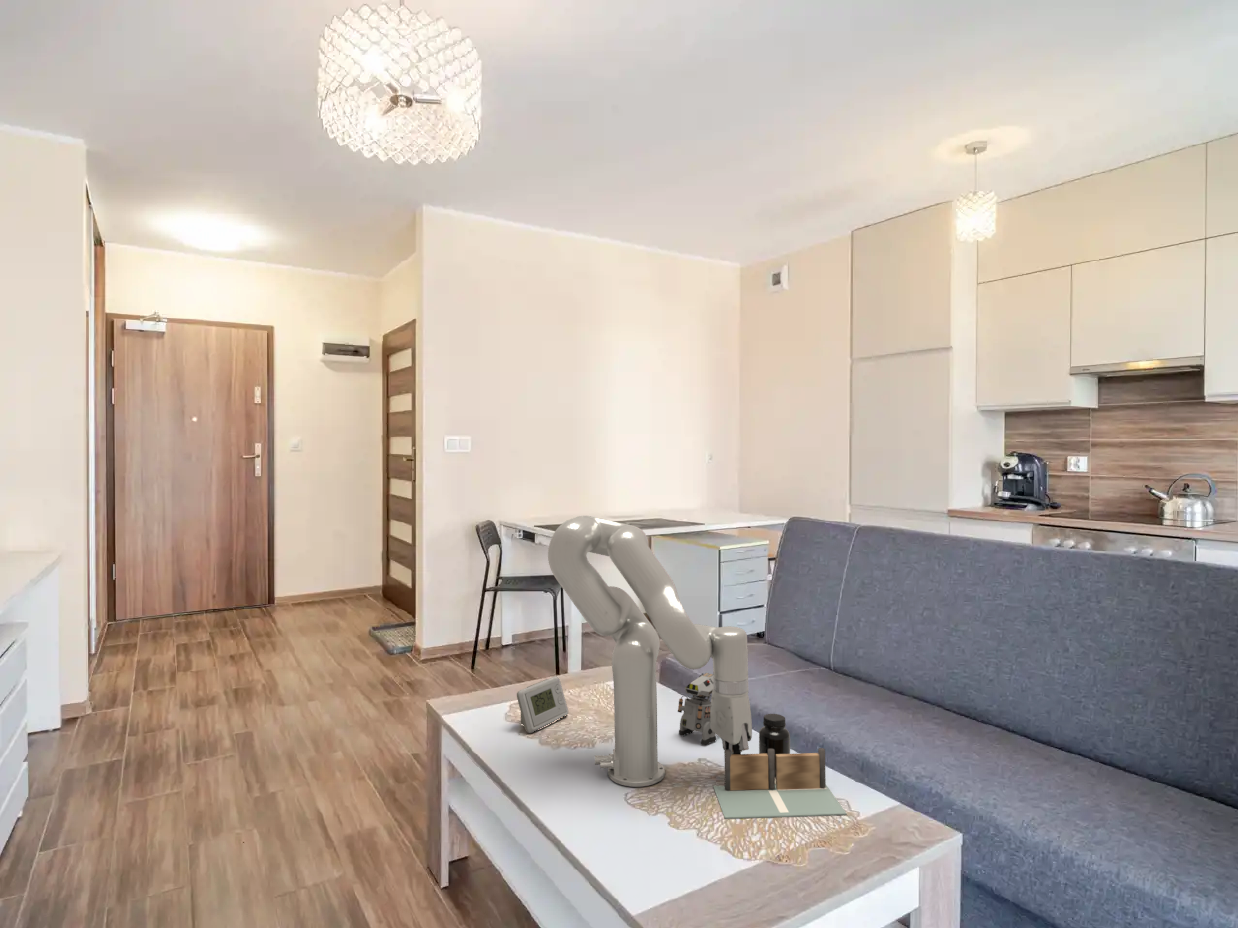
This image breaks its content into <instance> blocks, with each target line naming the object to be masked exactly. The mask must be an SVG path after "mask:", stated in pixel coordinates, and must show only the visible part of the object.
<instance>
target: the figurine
mask: <svg viewBox="0 0 1238 928" xmlns="http://www.w3.org/2000/svg"><path fill="white" fill-rule="evenodd" d="M713 688H714V686H713V673H709V672H705V673H704V672H702V673H701V674H700V675H699V676H698V677H697V678H696V679H694V680H693V681H692V682H690V683H688V685H686V686H685V687H684V691H685V694H688V695H690V696H691V695H692V697H691V698H688V696H686V695H685V697H686V698H684V700H683V697H684V695H682V696H681V697H680V698H679V699H678V708H677V713H683V714H682V716H681V718H680V721H679V729H678V735H679V736H681V737H685V736H687V735H691V734H693V733H694V732H699V733H701V739H700V744H701V745H704V746H707V745H710V743H711V744H714V743H715V742H716V741H717V735H716V734H715V733H714V732H713V731H712V730H711V726H710V713H711V697H712V691H713ZM683 704H684V705H683Z"/></svg>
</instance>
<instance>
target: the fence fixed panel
mask: <svg viewBox="0 0 1238 928" xmlns="http://www.w3.org/2000/svg"><path fill="white" fill-rule="evenodd" d="M817 750H818V751H817V752H812V753H811V752H809V753H807V752H805V753H804V752H803V753H790V754H776V777H775V784H776V788H777V790H785V789H818V788H822V789H824V788H826V785H827V784H826V783H827V782H826V749H825V748H823V747H819V748H817Z"/></svg>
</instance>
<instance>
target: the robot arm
mask: <svg viewBox="0 0 1238 928" xmlns="http://www.w3.org/2000/svg"><path fill="white" fill-rule="evenodd" d="M547 549H548V551H547V561H548V565H549V568H550V571H551V573H552V574H553V576H554V578H555V579H556V581H557V582H558V584H559V585H560V586H561V588H562V589H563V591H564V592H565V593H566V594H567V596H568V597H569V599H570V601H571V602H572V604H573V605H574V607H575V608H576V609H577V610H578V612H579V614H581V616H582V617H583V618H584V620H585V621H586V623H587V624H588V625H589V627H590V629H592V631H594V632H595V634H597V635H600V636H602V637H611V638H612V639H613V641H614V642H615V644H614V647H613V651H612V654H611V655H612V656H611V670H612V681H613V705H614V706H613V707H614V711H613V712H614V719H613V720H614V749H613V750H612V753H608V755H602V754H601V755H594V765H595V766H596V765H599V766H600V767H599V769H607V775H608V777H609V779H610V780H611V781H613V782H614V783H616V784H619V785H620V786H621V785H622V786H626V787H634V788H635V787H636V788H639V787H640V788H641V787H648V786H652V785H655V784H657V783H659V782H660V781H662V780H663V779H664V777H665V775H666V773H665V772H666V771H665V767H664V765H663V764H662V763H661V762H659V760H658V702H657V701H658V695H657V693H658V692H657V691H658V690H657V670H656V669H657V668H656V667H657V659H658V655H659V652H660V648H661V643H660V642H661V641H660V640H662V642H663V643H664V645H665V646H666V647H667V649H668V650H669V651H670V653H671V655H673V657H674V659H676V661H677V662H678V663H679V664H680V665H681V666H682V667H684V668H685V669H689V670H693V671H694V670H701V669H702V668H703V667H705V666H706V665H707V664H708V663H709V661H710V659H712V674H713V686H714V688H713V691H712V693H711V696H710V702H711V713H710V726H711V730H712V731H713V732H714V733H715V736H718V737H720V739H721V743H722V749H723V751H725V750H731V754H742V752H744V751H748V750H749V749H750V748H749V742H750V741H752V737H753V723H752V712H751V710H752V709H751V704H750V697H749V664H748V663H749V661H748V635H747V632H746V630H745V629H743V628H741V627H737V626H732V625H731V626H728V625H727V626H720V627H717V626H713V625H711V626H710V625H706V624H705V625H704V624H699V623H698V624H697V623H693V621H692V620H691V618H690V617H689V615H688V614H687V612H686V609H684V606H683V604H682V602H681V600H680V597H679V594H678V590H677V587H676V585H675V583H674V580H673V579H672V577H671V576H670V574H669V573H668V571H666V569H665V567H664V566H663V565H662V563H661V562H660V560H659V559H658V558H657V557H656V555H655V554H654V551H652V549H651V547H650V546H649V540H648V536H647V535H646V533H645V532H644V530H642V529H641V528H640V527H638V526H635V525H632V524H627V523H622V522H617V521H613V520H610V519H603V518H599V517H595V516H589V515H579V516H576V517H573V518H570V519H568V520H566V521H564V522H563V523H562V524H560V525H559V526H558V527H557V528H556V529H555V531H554V532H553V534H552V537H551V539H550V541H549V545H548V548H547ZM588 553H592V554H596V555H599V556H605V557H609V559H610V561H611V562H612V563H613V565H614V566H615V567H616V569H617V570H618V572H619V573H620V574H621V576H622V577H623V579H624V580H625V581H626V583H627V584H628V585H629V587H630V588H631V590H632V591H633V593H634V594H635V596H636V597H637V598H638V600H639V601H640V603H641V605H642V607H643V609H644V611H645V613H646V614H647V616H648V618H649V619H648V618H647V616H646V615H645V613H643V611H642V610H641V608H640V607H639V606H638V605H637V603H636V601H634V599H633V598H632V597H631V595H630V594H629V593H627V592H626V590H624V589H622V588H620V587H618V586H613V585H612V586H610V585H608V584H607V583H606V581H605V580H604V579H603V577H602V576H601V575H600V572H598V571H597V569H596V568H595V567H594V566H593V565H592V564H591V563H590V561H589V560H588V558H587V556H588ZM649 620H650V621H649Z"/></svg>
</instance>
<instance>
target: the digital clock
mask: <svg viewBox="0 0 1238 928" xmlns="http://www.w3.org/2000/svg"><path fill="white" fill-rule="evenodd" d="M516 699H517V702H518V706H519V709H520V710H519V711H520V725H521V724H523V725H524V726H525V727H524V726H523V727H524V729H525V731H526V733H528V734H532V733H534V731H535V732H537V731H538V729H540V728H542V727H544V726H546V725H548V724H550V723H552V722H554V721H555V720H557V719H559V718H561V717H563V716H565V715H567V714H569V707H568V704H567V701H566V697H565V694H564V689H563V687H562V684H561V680H560V677H559V676H553V677H550V678H546V679H544V680H540V681H538V682H536V683H533V684H530V685H528V686H526V687H525V688H523V689H520V690H519V691H517V692H516ZM567 716H568V715H567ZM536 730H537V731H536Z"/></svg>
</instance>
